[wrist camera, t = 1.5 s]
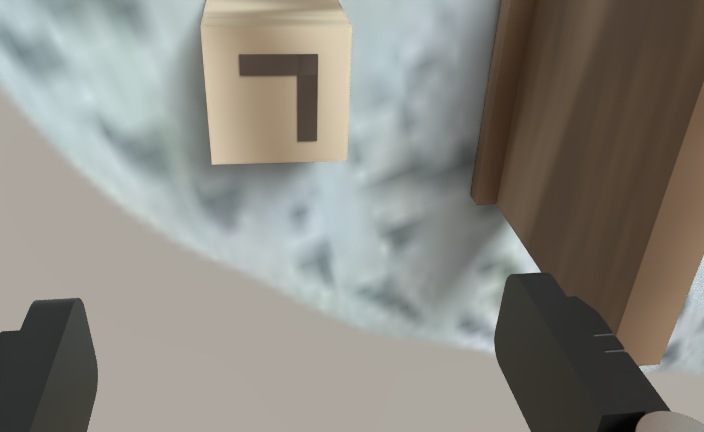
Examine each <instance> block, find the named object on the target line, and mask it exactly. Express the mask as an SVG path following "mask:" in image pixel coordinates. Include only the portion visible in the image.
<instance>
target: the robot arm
mask: <svg viewBox="0 0 704 432" xmlns="http://www.w3.org/2000/svg"><path fill="white" fill-rule="evenodd" d="M494 343H495V352H496V357H497V360H498V363H499V366H500V368H501V370H502V372H503V374H504V376H505V378H506V380H507V382H508V384H509V387H510V389H511V391H512V393H513V395H514V397H515V399H516V401H517V403H518V405H519V408H520V410H521V411H522V414H523V416H524V418H525V420H526V422H527V424H528V426H529V428H530V430H531V432H704V424H702V423H701V422H698V421H697V420H695V419H693V418H691V417H688V416H685V415H683V414H680V413H675V412H671V411H670V409H669V408H668V407H667V405H666V404H665V403H664V401H663V400H662V399H661V397H660V396H659V394H658V393H657V392H656V390H655V389H654V387H653V386H652V385H651V383H650V382H649V381H648V379H647V378H646V377H645V375H644V374H643V372H642V371H641V370H640V368H639V367H638V366H637V364H636V363H635V362H634V360H633V359H632V357H631V356H630V355H629V353H628V352H625V348H624V347H623V345H622V344H621V342H620V341H619V340H618V338H617V337H616V336H613V332H612V330H611V329H610V327H609V326H608V325H607V323H606V322H605V321H604V319H603V318H602V317H601V315H600V314H599V312H597V311H596V310H594V309H593V308H592V307H590V306H589V305H588V304H586V303H585V302H584V301H582V300H581V299H579V298H578V297H577V296H571V297H567V296H566V295H565V293H564V292H563V290H562V289H561V287H560V286H559V284H558V283H557V281H556V280H555V279H554V277H553V276H552V275H551V274H550V273H548V272H543V273H526V274H511V275H510V276H509V277H508V278H507V280H506V283H505V288H504V292H503V297H502V302H501V306H500V311H499V316H498V321H497V325H496V330H495V337H494ZM97 382H98V369H97V361H96V356H95V351H94V347H93V342H92V338H91V334H90V329H89V325H88V321H87V316H86V312H85V308H84V304H83V302H82V300H81V299H80V298H70V299H53V300H36V301H34V302H33V303H32V304H31V306H30V308H29V311H28V313H27V315H26V318H25V320H24V322H23V325H22V327H21V329H20V330H19V331H3V332H1V333H0V432H87V429H88V425H89V421H90V417H91V413H92V408H93V405H94V401H95V397H96V392H97Z"/></svg>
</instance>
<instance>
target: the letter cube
mask: <svg viewBox="0 0 704 432" xmlns="http://www.w3.org/2000/svg"><path fill="white" fill-rule="evenodd" d="M200 29H201V41H202V53H203V65H204V77H205V89H206V101H207V112H208V124H209V136H210V148H211V160H212V165H215V164H252V163H289V162H326V161H347V147H348V123H349V98H350V74H351V49H352V26H351V24H350V22H349V20H348V18H347V16H346V14H345V12H344V10H343V9H342V7H341V5H340V3H339V1H338V0H206V4H205V9H204V13H203V18H202V22H201V26H200Z"/></svg>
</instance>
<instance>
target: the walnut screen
mask: <svg viewBox="0 0 704 432" xmlns="http://www.w3.org/2000/svg"><path fill="white" fill-rule="evenodd" d="M470 195H471V197H472V198H473V200H474V202H475V203H476V205H485V204H497V206H498V207H499V209H500V210H501V212H502V213H503V215H504V216H505V218H506V219H507V221H508V222H509V224H510V225H511V227H512V229H513V230H514V232H515V233H516V235H517V236H518V238H519V239H520V241H521V242H522V244H523V245H524V247H525V248H526V250H527V251H528V253H529V254H530V256H531V257H532V259H533V260H534V262H535V263H536V265H537V266H538V268H539V269H540V271H541V272H542V273H543V272H548V273H550V274H551V275H552V276H553V277H554V279H555V280H556V281H557V283H558V284H559V286H560V287H561V289H562V290H563V292H564V293H565V295H566V296H567V297H571V296H577V297H578V298H579V299H581V300H582V301H584V302H585V303H586V304H588V305H589V306H590V307H592V308H593V309H594V310H596V311H597V312H599V314H600V315H601V317H602V318H603V319H604V321H605V322H606V323H607V325H608V326H609V327H610V329H611V330H612V332H613V336H616V337H617V338H618V340H619V341H620V342H621V344H622V345H623V347H624V348H625V352H628V353H629V355H630V356H631V357H632V359H633V360H634V362H635V363H636V364H637V366H644V365H656V364H660V362H661V359H662V357H663V354H664V352H665V349H666V347H667V344H668V342H669V339H670V337H671V334H672V332H673V329H674V327H675V324H676V322H677V319H678V317H679V314H680V312H681V310H682V307H683V305H684V302H685V300H686V297H687V295H688V292H689V290H690V287H691V285H692V282H693V280H694V277H695V275H696V272H697V270H698V267H699V265H700V262H701V260H702V257H703V255H704V0H501V5H500V11H499V18H498V24H497V30H496V37H495V43H494V49H493V55H492V62H491V68H490V74H489V80H488V87H487V93H486V99H485V106H484V112H483V118H482V124H481V131H480V137H479V143H478V149H477V156H476V162H475V168H474V175H473V181H472V187H471V193H470Z"/></svg>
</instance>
